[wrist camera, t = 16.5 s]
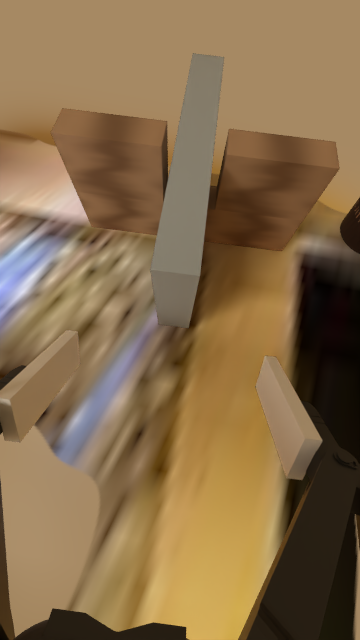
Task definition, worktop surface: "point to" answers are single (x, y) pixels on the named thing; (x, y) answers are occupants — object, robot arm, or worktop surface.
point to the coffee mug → (352, 228)
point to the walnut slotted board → (224, 200)
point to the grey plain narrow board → (187, 196)
